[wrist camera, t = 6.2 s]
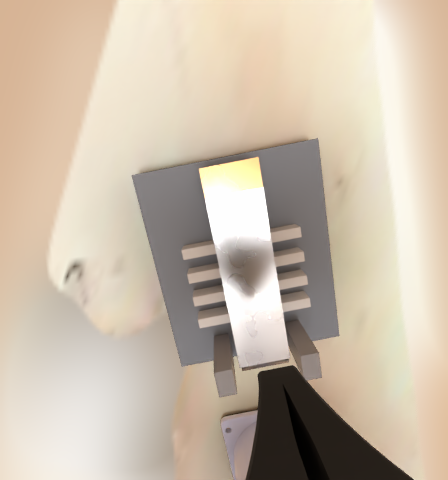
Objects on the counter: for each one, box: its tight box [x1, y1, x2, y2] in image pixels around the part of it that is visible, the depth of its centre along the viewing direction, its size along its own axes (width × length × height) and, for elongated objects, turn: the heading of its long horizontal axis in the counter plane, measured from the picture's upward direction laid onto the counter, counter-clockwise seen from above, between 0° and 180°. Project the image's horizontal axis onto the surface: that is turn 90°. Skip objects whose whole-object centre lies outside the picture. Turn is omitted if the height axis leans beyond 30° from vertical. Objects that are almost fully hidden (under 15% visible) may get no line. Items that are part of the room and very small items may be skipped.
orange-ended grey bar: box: [199, 157, 290, 371], centre depth 15 cm, size 12×3×1 cm, turn 11°
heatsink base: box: [132, 138, 339, 397], centre depth 16 cm, size 13×11×5 cm
